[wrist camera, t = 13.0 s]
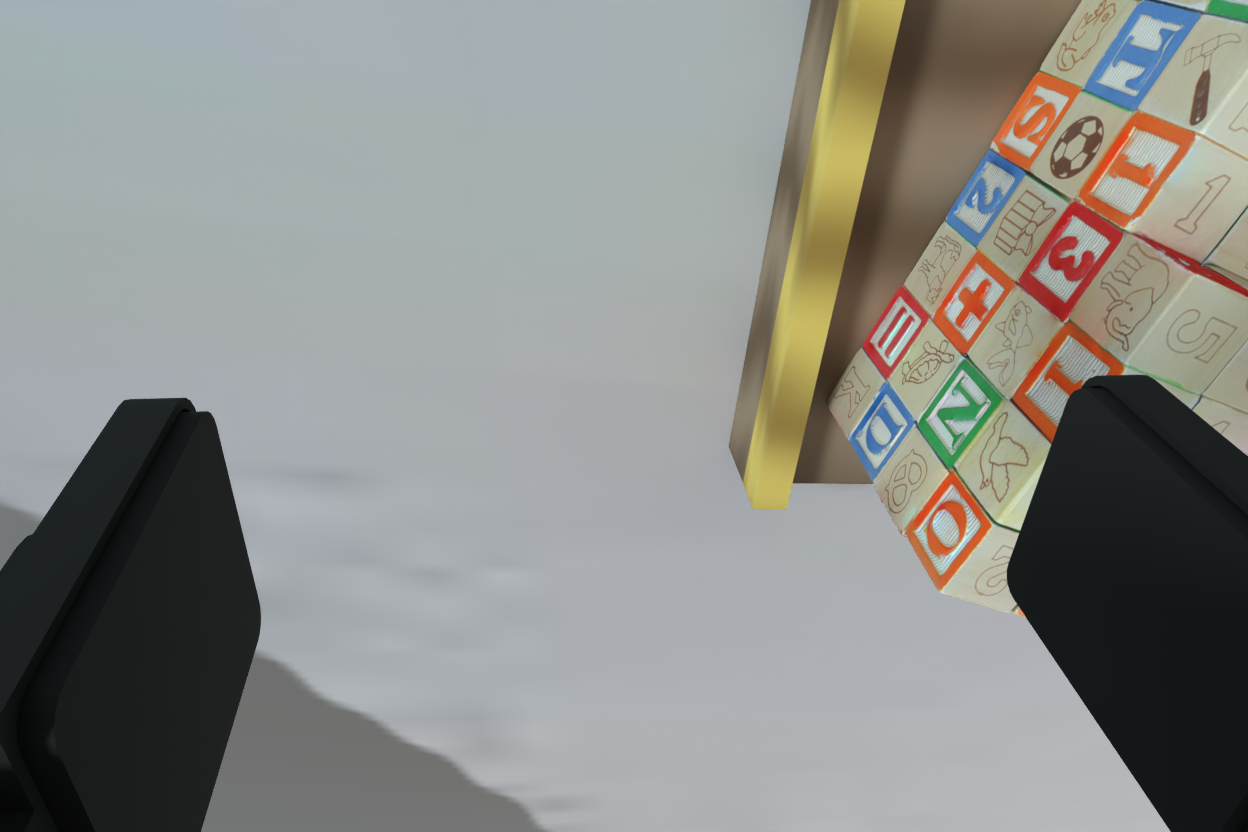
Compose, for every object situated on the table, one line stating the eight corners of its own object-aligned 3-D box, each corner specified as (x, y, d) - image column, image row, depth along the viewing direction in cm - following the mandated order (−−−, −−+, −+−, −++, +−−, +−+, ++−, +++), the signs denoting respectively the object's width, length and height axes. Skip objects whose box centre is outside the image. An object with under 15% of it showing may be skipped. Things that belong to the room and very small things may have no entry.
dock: (841, -161, 31) (895, -164, 27) (1323, -103, 34) (1441, -98, 29) (728, 446, 44) (753, 509, 39) (1084, 451, 47) (1142, 510, 42)
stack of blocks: (1143, -111, 30) (1486, -96, 20) (1271, -28, 32) (1645, 26, 22) (822, 404, 39) (938, 600, 29) (935, 444, 41) (1082, 641, 31)
